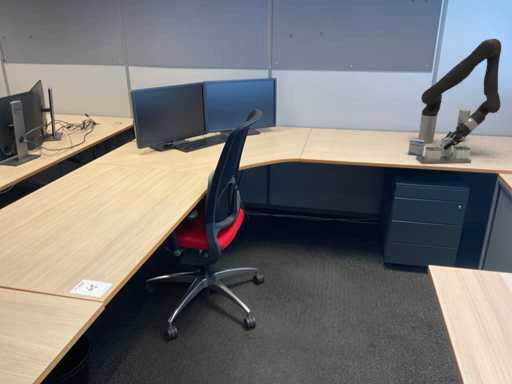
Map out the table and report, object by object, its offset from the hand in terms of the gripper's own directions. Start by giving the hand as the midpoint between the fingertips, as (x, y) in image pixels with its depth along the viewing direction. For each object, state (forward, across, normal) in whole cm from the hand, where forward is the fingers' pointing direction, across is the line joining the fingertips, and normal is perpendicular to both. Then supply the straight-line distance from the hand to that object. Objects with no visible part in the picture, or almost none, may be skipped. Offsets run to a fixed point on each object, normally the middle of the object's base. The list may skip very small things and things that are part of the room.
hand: (442, 147), depth 248 cm
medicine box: (+14, -1, -8) cm, 16 cm away
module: (+2, 0, +4) cm, 5 cm away
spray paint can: (-15, -29, +21) cm, 38 cm away
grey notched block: (+6, +12, 0) cm, 13 cm away
